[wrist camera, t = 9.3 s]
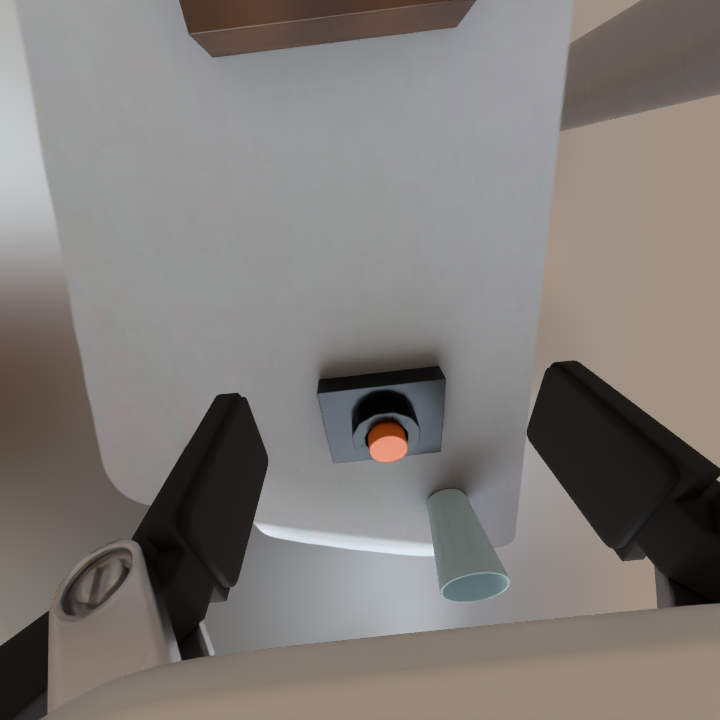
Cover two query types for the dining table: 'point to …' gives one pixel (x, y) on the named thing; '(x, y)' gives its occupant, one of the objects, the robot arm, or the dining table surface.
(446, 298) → the dining table surface
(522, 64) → the dining table surface
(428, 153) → the dining table surface
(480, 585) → the cup
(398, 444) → the button
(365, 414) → the button block
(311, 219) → the dining table surface
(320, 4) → the panel
